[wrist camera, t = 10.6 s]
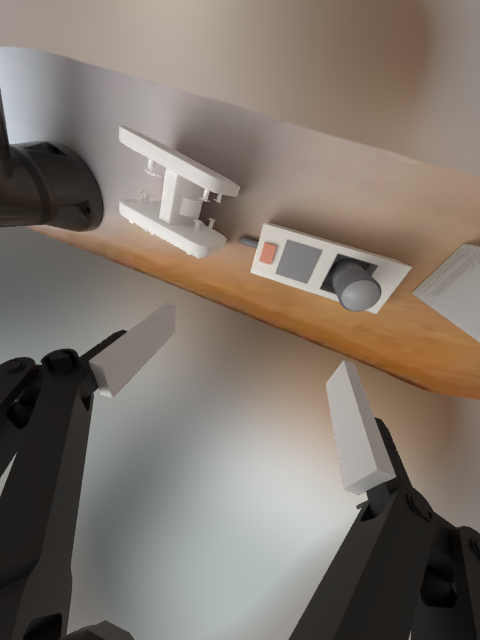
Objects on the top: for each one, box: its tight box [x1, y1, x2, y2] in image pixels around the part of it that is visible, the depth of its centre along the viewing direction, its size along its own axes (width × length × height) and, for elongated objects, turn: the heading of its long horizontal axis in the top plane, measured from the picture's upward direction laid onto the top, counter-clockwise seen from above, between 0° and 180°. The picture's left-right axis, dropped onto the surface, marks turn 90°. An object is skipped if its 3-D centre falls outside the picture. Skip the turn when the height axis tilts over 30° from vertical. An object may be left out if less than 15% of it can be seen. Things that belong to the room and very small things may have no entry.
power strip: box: [239, 222, 412, 314], centre depth 31 cm, size 26×8×5 cm, turn 76°
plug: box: [329, 259, 381, 312], centre depth 27 cm, size 5×5×10 cm
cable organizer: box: [119, 125, 240, 259], centre depth 29 cm, size 15×11×12 cm
